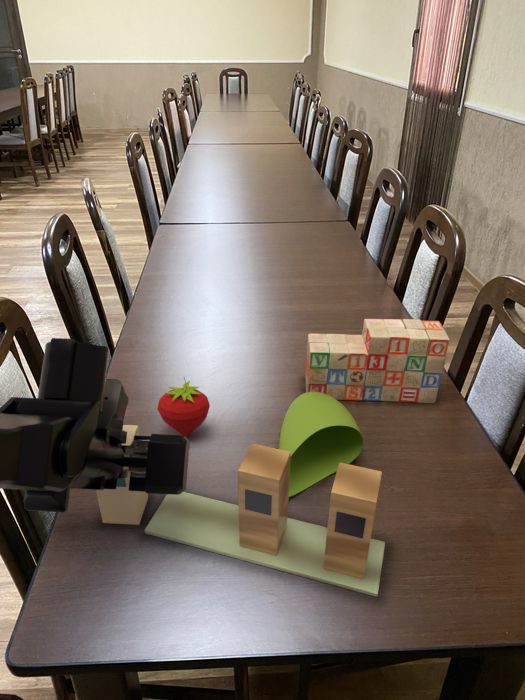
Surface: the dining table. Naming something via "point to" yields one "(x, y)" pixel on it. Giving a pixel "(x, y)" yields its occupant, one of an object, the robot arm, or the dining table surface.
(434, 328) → the stack of blocks
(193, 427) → the strawberry
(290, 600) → the dining table surface
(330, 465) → the green curved shell
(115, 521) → the tall cream block
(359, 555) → the block line
